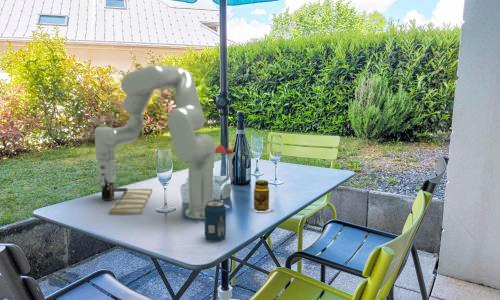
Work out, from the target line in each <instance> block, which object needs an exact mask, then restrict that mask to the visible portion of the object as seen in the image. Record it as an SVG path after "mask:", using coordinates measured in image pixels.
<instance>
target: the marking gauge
mask: <svg viewBox="0 0 500 300" xmlns="http://www.w3.org/2000/svg"><path fill="white" fill-rule="evenodd" d="M105 185H107V184H105ZM100 189H101V190H100V191H101V193H102V187H101V186H100ZM109 189H110V199H103V198H102V197H101V200H103V201H106V200H107V201H108V200H113V198H114V197H115V192H117V193H118V192H119V193H120V192H122V193H123V192H124V194H125V191H127V189H128V188H127V187H115V184H114V182H113V183H109Z"/></svg>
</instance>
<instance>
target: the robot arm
mask: <svg viewBox="0 0 500 300" xmlns="http://www.w3.org/2000/svg"><path fill="white" fill-rule="evenodd" d="M120 86H121V87H120V88H121V90H122V92H123V93H124V94H126V96H125V98H124V100H123V102H122V105H121V106H122V109H123V110H124V111H125V112H126V113H128V114H129V118H128V121H127V123H126V125H124V126H119V127H111V126H99V127H96V128H95V129H94V143H95V144H94V145H95V157H96V161H98V181H99V184H100V188H101V187H102V192H101V199H102V198H103V199H110V189H109V183H114V181H115V180H116V178H117V171H116V163H115V159H116V152H115V150H116V149H115V148H116V147H119V146H123V145H129V144H132V143H133V142H135V141H136V140H137V139H138V137H139V136H140V133H141V131H142V130H143V127H144V111H145V110H146V107H147V105H148V104H149V101H150V100H151V98H152V96H153V94H154V92H155V90H164V89H165V90H167V89H168V90H170V89H174V98H175V99H174V100H175V103H176V106H177V107H174V109H172V110H171V111H170V112H169V114H168V117H167V127H168V131H169V134H170V138H171V141H172V144H173V149H174V151H175V154H176V156H177V158H178V159H179V160H180V161H181V162H183V163H185V164H188V175H187V176H188V208H187V209H186V210H185V212H184V213H185V215H184V216H186V217H187V218H189V219H193V220H205V207H206V203H207V202H209V201H215V200H214V191H215V190H214V185H213V168H214V157H215V148H216V143H215V139H214V138H213V137H212V136H211V135H209V134H207V133H197V134H195V132H196V131H199V130H201V129H203V127H204V126H205V122H206V121H205V115H204V111H203V108H202V105H201V102H200V98H199V94H198V93H197V87H196V84H195V79H194V77H193V76H192V74H191V72H189V70H187V69H185V68H183V67H180V66H173V65H172V66H171V65H160V64H159V65H157V64H153V65H149V66H145V67H142V68H139V69H137V70H133V71H130V72H128V73H126V74H125V75H124V76H123V77H122V79H121V83H120ZM105 184H107V185H105ZM110 200H111V199H110Z"/></svg>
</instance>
